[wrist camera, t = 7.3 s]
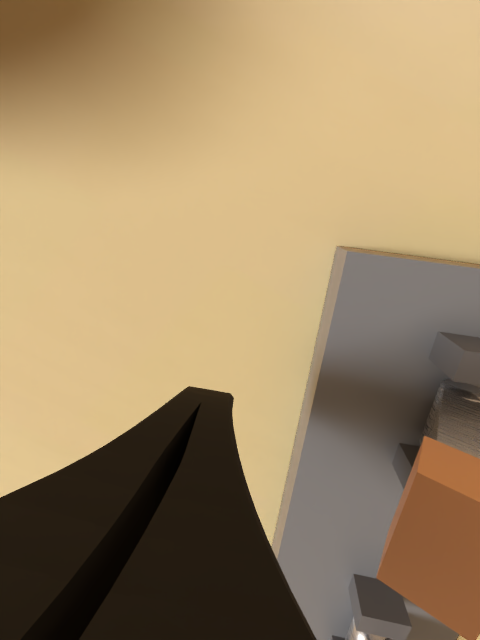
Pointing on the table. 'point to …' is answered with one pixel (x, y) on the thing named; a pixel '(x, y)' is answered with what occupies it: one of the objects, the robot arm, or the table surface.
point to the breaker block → (370, 432)
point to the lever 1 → (361, 634)
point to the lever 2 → (441, 516)
